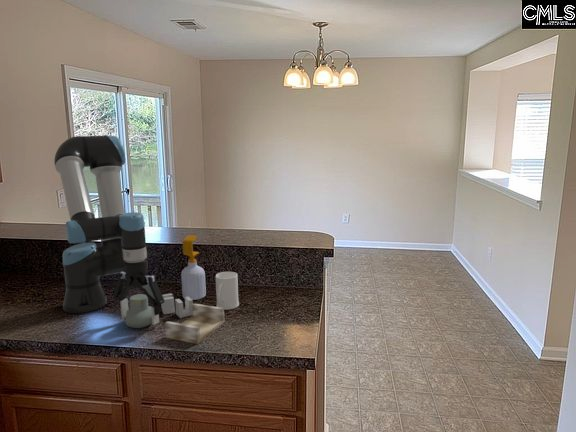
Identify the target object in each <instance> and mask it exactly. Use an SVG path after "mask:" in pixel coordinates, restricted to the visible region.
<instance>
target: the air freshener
mask: <svg viewBox="0 0 576 432" xmlns="http://www.w3.org/2000/svg"><path fill="white" fill-rule="evenodd" d="M128 299H129V300H128V302H129V310H127V313H126V318H125V324H126V326H128V327H130V328H132V329H142V328H145V327H148V326H150V325H152V315H151V306H149V299H148V297H147V296H146V294H145V293H144V294H143V293H138V294H134V295H131V296H130V297H129V298H128Z"/></svg>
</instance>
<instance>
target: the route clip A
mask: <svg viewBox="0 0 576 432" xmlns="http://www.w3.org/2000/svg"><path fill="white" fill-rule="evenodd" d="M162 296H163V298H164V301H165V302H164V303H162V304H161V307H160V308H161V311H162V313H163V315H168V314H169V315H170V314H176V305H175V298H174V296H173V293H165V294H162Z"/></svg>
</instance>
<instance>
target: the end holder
mask: <svg viewBox="0 0 576 432" xmlns="http://www.w3.org/2000/svg"><path fill="white" fill-rule="evenodd" d="M192 308H193V315H190V316H189V318H187V319H186V320H184V321H183V322H181V323H179V322H173V321H168V320H167V321H166V322H165V323H164V326H165V334H164V336H165V338H166V339H171V340H176V341H181V342H186V343H190V344H196V345H198V344H199V343H201V342H202V341H203V340H205V339H206V338H207V337H209V335H211V334H212V333H213V332H214V331H215V330H216V329H218V328H219V327H220V326H222V325H223V324H224V323H225V322H226V318H225V310H224V308H220V307H217V306H213V305H207V304H201V303H194V302H193V305H192Z"/></svg>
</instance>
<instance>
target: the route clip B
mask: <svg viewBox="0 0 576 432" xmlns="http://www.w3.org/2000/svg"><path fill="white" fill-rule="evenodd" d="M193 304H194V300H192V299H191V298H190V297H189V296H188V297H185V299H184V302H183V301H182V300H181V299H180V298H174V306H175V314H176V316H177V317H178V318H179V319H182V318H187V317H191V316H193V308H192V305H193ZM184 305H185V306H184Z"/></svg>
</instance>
